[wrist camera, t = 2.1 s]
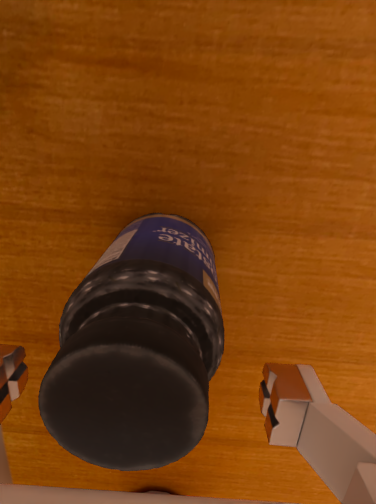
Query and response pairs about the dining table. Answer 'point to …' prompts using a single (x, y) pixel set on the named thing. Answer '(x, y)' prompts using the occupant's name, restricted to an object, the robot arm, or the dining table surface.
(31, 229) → the dining table surface
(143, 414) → the pill bottle
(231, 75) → the dining table surface
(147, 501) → the robot arm
